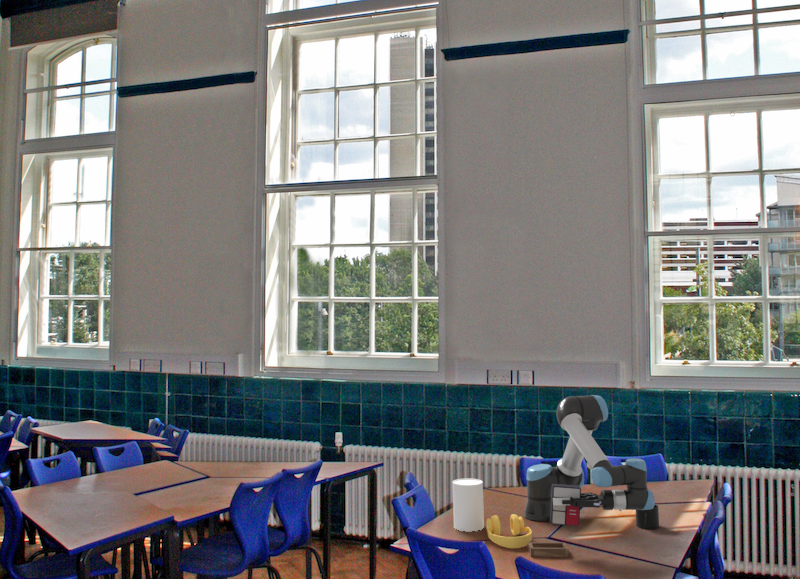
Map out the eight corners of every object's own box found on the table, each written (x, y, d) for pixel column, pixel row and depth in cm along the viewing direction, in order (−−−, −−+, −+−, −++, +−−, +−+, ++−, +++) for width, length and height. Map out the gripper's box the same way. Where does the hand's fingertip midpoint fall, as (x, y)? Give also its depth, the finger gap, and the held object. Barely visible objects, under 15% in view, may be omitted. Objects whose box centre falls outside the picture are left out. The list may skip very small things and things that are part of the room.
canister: (487, 530, 284) (486, 484, 285) (458, 532, 281) (456, 486, 283) (479, 521, 297) (477, 477, 298) (450, 523, 295) (449, 479, 296)
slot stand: (528, 549, 257) (528, 542, 258) (565, 550, 256) (565, 542, 257) (531, 556, 250) (530, 548, 250) (568, 556, 249) (568, 548, 249)
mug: (634, 529, 280) (633, 508, 280) (637, 522, 291) (636, 501, 291) (658, 532, 276) (657, 510, 277) (659, 524, 287) (658, 503, 287)
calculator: (551, 524, 254) (553, 486, 255) (549, 521, 258) (551, 483, 259) (579, 527, 253) (581, 488, 254) (577, 523, 257) (579, 485, 258)
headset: (494, 549, 259) (493, 526, 260) (482, 535, 280) (482, 513, 281) (537, 547, 260) (536, 524, 261) (522, 533, 281) (522, 511, 282)
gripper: (618, 515, 246) (556, 515, 248) (607, 503, 263) (549, 504, 264) (617, 495, 246) (555, 495, 248) (606, 485, 263) (548, 485, 265)
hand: (552, 500), depth 256 cm, fingers closed on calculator, 4 cm apart
